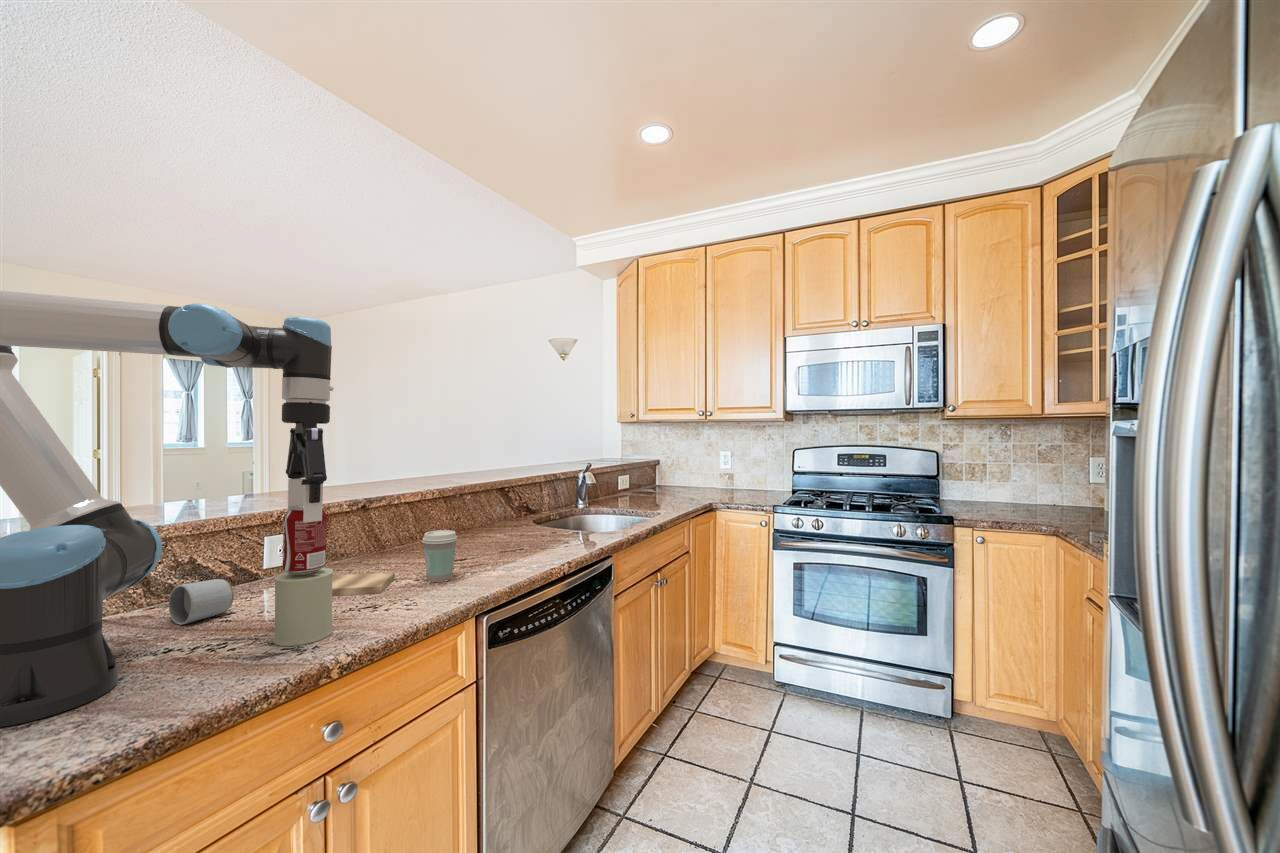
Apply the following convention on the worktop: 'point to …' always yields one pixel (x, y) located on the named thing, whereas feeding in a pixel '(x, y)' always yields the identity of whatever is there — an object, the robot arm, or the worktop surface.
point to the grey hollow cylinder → (200, 600)
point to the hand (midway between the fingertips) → (304, 516)
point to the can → (303, 607)
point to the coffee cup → (439, 554)
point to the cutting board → (361, 583)
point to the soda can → (303, 542)
